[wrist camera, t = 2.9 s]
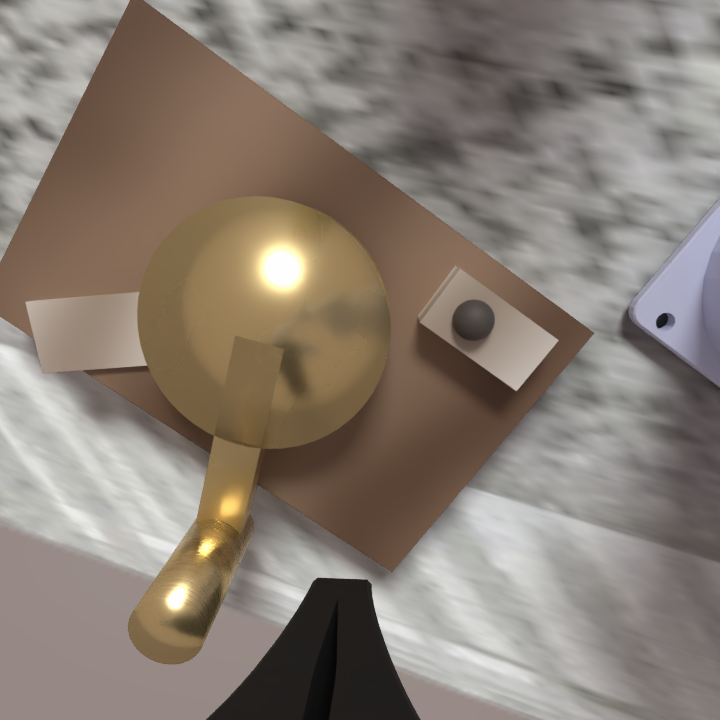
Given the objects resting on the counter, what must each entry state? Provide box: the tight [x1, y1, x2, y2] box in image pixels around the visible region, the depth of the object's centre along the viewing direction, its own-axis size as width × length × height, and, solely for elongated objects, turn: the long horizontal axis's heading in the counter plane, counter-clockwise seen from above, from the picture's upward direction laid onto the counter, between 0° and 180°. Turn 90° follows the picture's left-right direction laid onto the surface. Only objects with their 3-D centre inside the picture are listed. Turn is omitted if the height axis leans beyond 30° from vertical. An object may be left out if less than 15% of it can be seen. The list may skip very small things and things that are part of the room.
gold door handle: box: [128, 196, 391, 664], centre depth 12 cm, size 10×6×4 cm, turn 165°
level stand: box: [0, 0, 594, 572], centre depth 14 cm, size 14×10×4 cm
